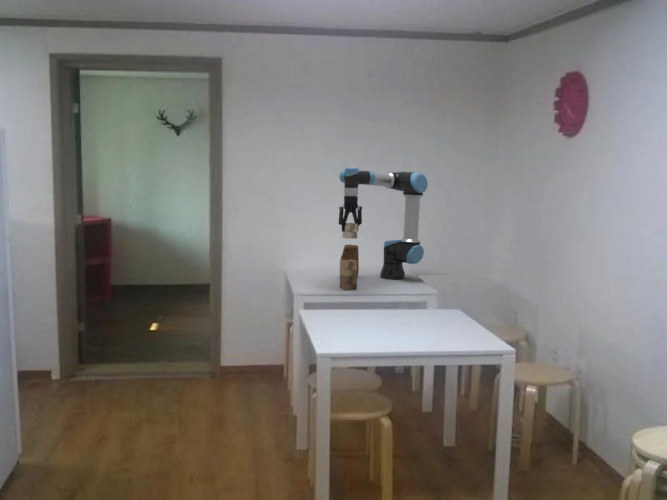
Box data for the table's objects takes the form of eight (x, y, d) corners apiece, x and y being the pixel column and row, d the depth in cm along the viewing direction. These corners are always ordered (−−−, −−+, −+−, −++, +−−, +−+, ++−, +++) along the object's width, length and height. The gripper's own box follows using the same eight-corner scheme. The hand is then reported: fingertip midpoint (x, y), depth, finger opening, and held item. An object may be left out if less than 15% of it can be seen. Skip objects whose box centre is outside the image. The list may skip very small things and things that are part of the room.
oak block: (350, 273, 407) (351, 259, 406) (356, 275, 401) (357, 261, 400) (339, 274, 404) (340, 260, 403) (345, 276, 397) (346, 261, 396)
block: (357, 276, 444) (358, 244, 441) (358, 278, 436) (359, 246, 434) (339, 276, 443) (340, 244, 440) (340, 278, 436) (341, 245, 433)
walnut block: (350, 287, 408) (351, 273, 407) (356, 289, 402) (357, 275, 401) (339, 288, 405) (340, 274, 404) (345, 290, 399) (345, 276, 398)
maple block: (351, 237, 404) (352, 222, 402) (357, 238, 398) (357, 223, 397) (342, 237, 401) (342, 223, 400) (347, 238, 396) (348, 224, 394)
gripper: (362, 194, 404) (361, 236, 407) (332, 195, 395) (331, 237, 398) (369, 195, 397) (368, 237, 400) (338, 195, 389) (337, 238, 392)
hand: (349, 237), depth 399 cm, fingers closed on maple block, 6 cm apart
